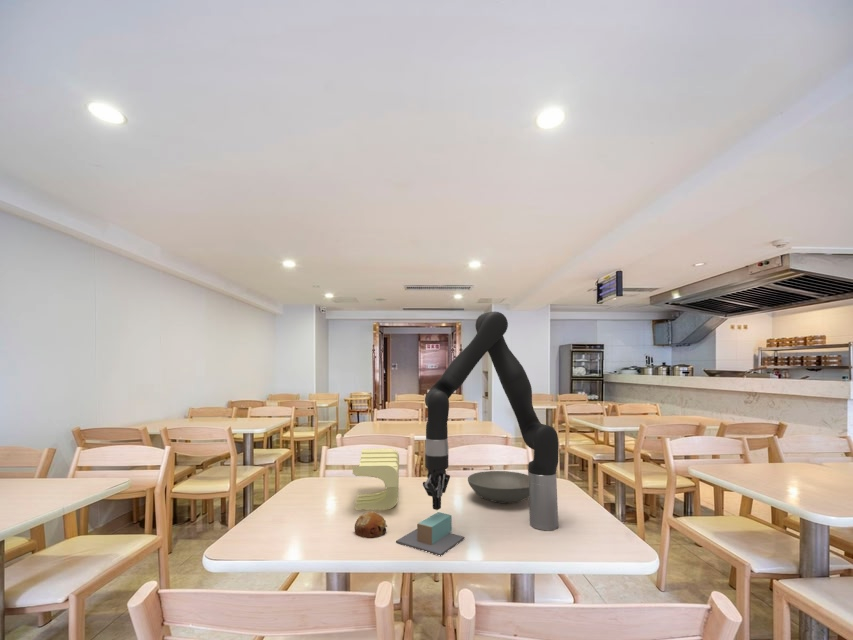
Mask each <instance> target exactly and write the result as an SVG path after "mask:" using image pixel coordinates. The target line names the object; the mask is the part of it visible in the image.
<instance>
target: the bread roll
mask: <svg viewBox="0 0 853 640" xmlns="http://www.w3.org/2000/svg"><path fill="white" fill-rule="evenodd" d="M387 528H388V525H387V522H386V519H385V518H384V517H383V516H382V515H381V514H380V513H379V512H377V511H373V510H369V511H367V512H365V513H363V514H361V515H360V516H359V517H358V518H357V519H356V521H355V523H354V532H355V534H356V535H357V536H358V537H362V538H367V539H375V538H379V537H381V536H383V535H384V534H385V533H386V531H387Z"/></svg>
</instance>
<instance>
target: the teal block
mask: <svg viewBox="0 0 853 640" xmlns="http://www.w3.org/2000/svg"><path fill="white" fill-rule="evenodd" d="M452 524H453V523H452V515H451V514H449V513H444V512H440V511H437V512H436V513H433V514H432V515H430V516H429V517H427V518H425V519H423V520H421V521H420V522H417V525H416V529H417V541H418V542H422V543H425V544H429V545H432V544H434V543H435V542H437V541H438V540H440V539H441V538H443V537H444V536H446V535H447V534H449V533H451V532H453V531H452V530H453V529H452V526H453V525H452Z"/></svg>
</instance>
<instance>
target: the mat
mask: <svg viewBox="0 0 853 640" xmlns="http://www.w3.org/2000/svg"><path fill="white" fill-rule="evenodd" d="M464 538H465V539H466V537H465V536H463V535H459V534H456V533H451V532H450V533H449V534H447V535H446V536H444V537H443V538H441V539H440V540H438V541H437V542H435V543H434V544H432V545H429V544H425V543H422V542H418V541H417V528H416V529H414V530H412V531H410V532H409V533H407V534H405V535H403V536H402V537H400V538H399V539H396V540H395V543H396V544H398V543H399V544H398V545H403V546H405V545H406V546H405V547H408V546H409V547H408V548H411V547H413V548H412V549H415V548H416V549H415V550H418V549H420V550H419V551H421V550H424V551H423V552H425V551H427V552H426V553H428V552H430V553H429V554H431V553H433V554H432V555H435V554H437V555H436V556H438V555H440V556H439V557H442V556H444V553H445V552H446V553H448V552H449V551H450V550H451V548H452V547H453V548H454V547H456V546H457V545H458V544H460V543H461V542H463V541H464V540H465V539H464ZM463 539H464V540H463ZM460 541H461V542H460ZM459 542H460V543H459ZM457 543H458V544H457ZM456 544H457V545H456ZM455 545H456V546H455ZM453 548H452V549H453ZM449 549H450V550H449ZM448 550H449V551H448ZM446 553H445V554H446ZM441 555H442V556H441Z"/></svg>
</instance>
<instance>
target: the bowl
mask: <svg viewBox="0 0 853 640" xmlns="http://www.w3.org/2000/svg"><path fill="white" fill-rule="evenodd" d="M467 483H468V484H469V486H470V488H471V489H472V490H473V492H474V493H475V494H477V495H478V496H479V497H481V498H482V499H484V500H486V501H491V502H494V503H498V504H499V503H500V504H515V503H519V502H521V501H524V500H526V499H529V480H528V474H526V473H522V472H517V471H516V472H515V471H507V470H489V471H479V472H475V473H472V474H470V475H469V476H468V477H467Z"/></svg>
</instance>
